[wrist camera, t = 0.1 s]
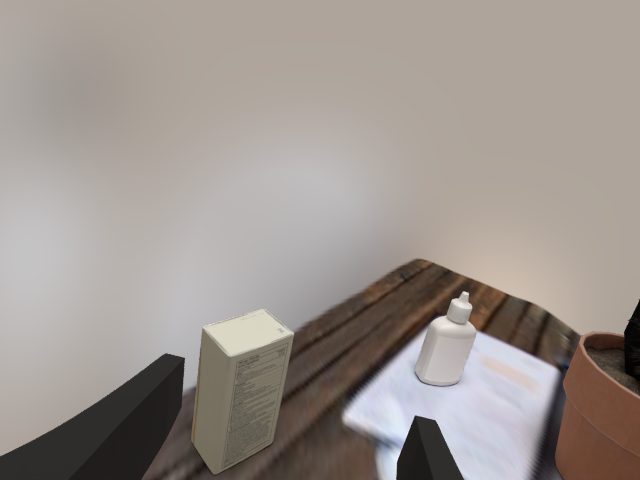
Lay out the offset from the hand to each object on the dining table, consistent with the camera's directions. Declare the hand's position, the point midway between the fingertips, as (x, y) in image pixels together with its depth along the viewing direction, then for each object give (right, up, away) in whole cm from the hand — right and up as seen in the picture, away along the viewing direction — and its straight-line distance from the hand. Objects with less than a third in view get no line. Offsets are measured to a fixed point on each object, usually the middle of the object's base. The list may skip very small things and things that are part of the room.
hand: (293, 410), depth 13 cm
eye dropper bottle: (+15, -12, +40) cm, 44 cm away
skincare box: (-7, -13, +24) cm, 29 cm away
